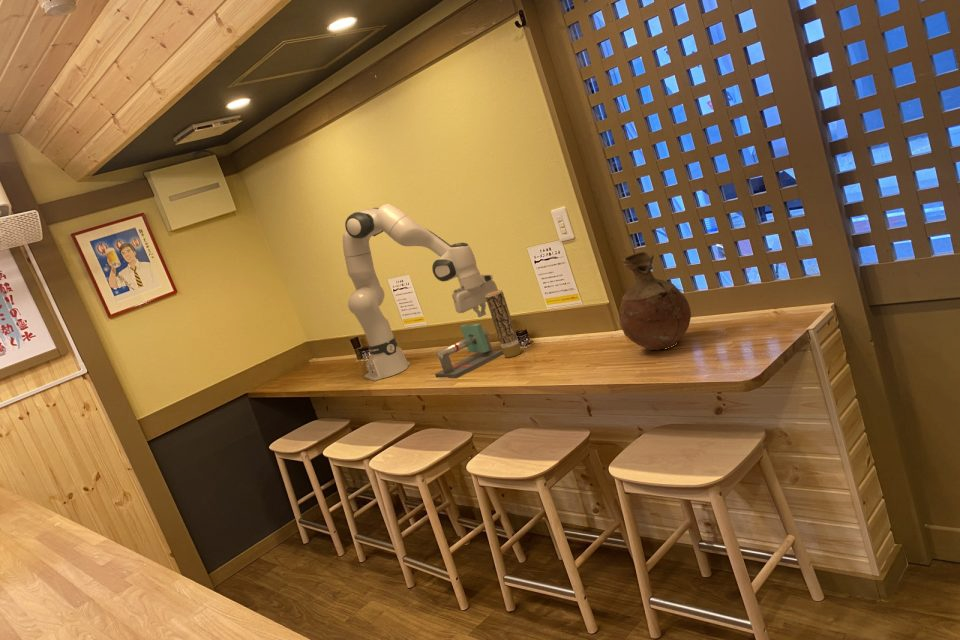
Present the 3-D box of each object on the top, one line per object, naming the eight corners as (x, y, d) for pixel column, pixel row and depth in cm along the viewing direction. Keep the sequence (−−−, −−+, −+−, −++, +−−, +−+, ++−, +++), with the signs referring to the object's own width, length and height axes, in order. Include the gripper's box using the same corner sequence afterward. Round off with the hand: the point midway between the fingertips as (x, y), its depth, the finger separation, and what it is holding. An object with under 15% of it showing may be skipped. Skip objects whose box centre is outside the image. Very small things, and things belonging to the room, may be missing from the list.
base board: (436, 377, 279) (434, 373, 279) (482, 354, 293) (481, 350, 293) (456, 378, 268) (455, 374, 268) (503, 354, 282) (502, 350, 282)
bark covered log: (520, 355, 272) (500, 292, 267) (503, 359, 273) (483, 297, 269) (522, 350, 278) (503, 288, 274) (506, 354, 280) (486, 293, 275)
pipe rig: (442, 374, 275) (434, 351, 274) (488, 350, 289) (481, 329, 287) (447, 374, 272) (440, 351, 270) (494, 350, 286) (487, 328, 284)
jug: (648, 364, 214) (620, 267, 208) (617, 353, 235) (591, 265, 229) (711, 339, 218) (686, 243, 213) (675, 330, 239) (651, 243, 233)
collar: (468, 352, 287) (460, 326, 285) (472, 350, 288) (464, 324, 286) (485, 352, 278) (476, 325, 276) (489, 350, 280) (480, 323, 278)
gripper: (455, 291, 274) (467, 325, 276) (495, 273, 286) (505, 306, 288) (446, 292, 279) (457, 325, 282) (485, 275, 291) (496, 307, 293)
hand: (482, 315), depth 285 cm, fingers closed
